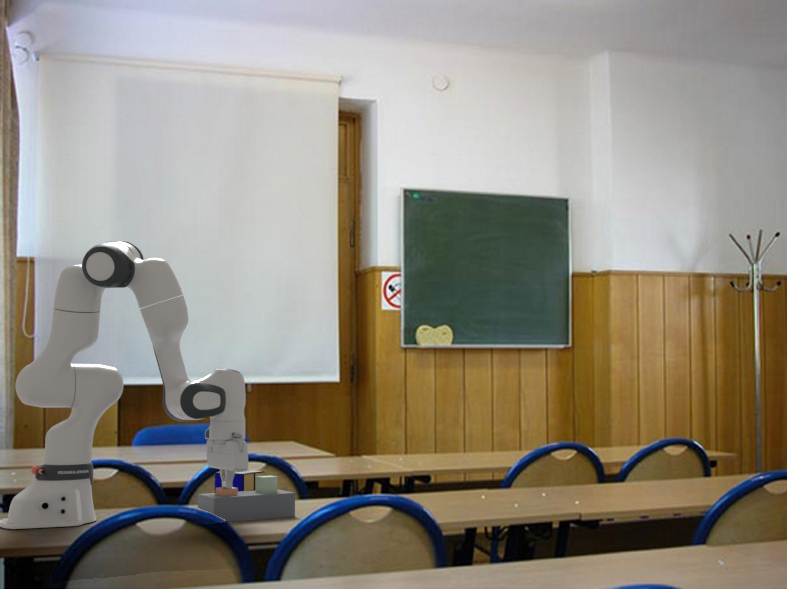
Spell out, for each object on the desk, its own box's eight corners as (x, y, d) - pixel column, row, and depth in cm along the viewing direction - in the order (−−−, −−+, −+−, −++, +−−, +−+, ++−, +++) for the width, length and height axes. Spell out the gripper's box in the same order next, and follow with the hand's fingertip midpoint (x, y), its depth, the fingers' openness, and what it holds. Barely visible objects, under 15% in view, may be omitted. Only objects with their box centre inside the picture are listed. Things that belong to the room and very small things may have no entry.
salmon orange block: (221, 512, 232) (222, 489, 233) (215, 510, 236) (215, 487, 236) (237, 511, 234) (237, 488, 235) (231, 509, 238) (231, 486, 238)
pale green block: (262, 500, 238) (262, 477, 239) (255, 498, 242) (256, 476, 242) (277, 499, 240) (277, 476, 241) (270, 497, 244) (270, 475, 245)
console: (213, 523, 227) (214, 498, 228) (197, 517, 237) (198, 493, 237) (294, 516, 239) (295, 492, 239) (276, 511, 248) (276, 489, 249)
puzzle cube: (213, 509, 255) (214, 472, 256) (235, 505, 264) (236, 469, 265) (243, 511, 250) (243, 473, 251) (264, 507, 259) (265, 470, 260)
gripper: (255, 433, 229) (254, 490, 227) (225, 431, 246) (224, 484, 245) (230, 433, 226) (229, 492, 224) (202, 431, 243) (201, 485, 242)
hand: (227, 488), depth 235 cm, fingers closed
